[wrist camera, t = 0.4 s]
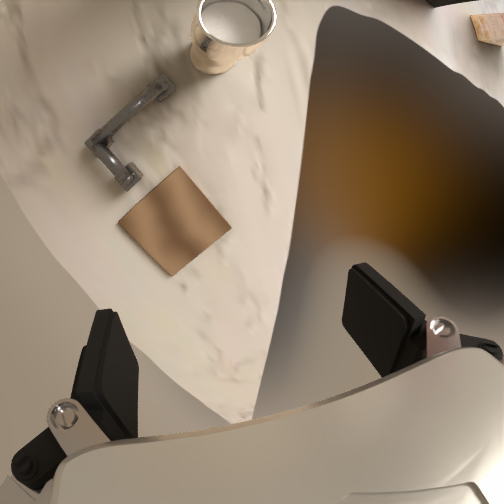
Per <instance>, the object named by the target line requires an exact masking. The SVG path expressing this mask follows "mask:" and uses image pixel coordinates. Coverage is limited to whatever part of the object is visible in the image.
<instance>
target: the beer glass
mask: <svg viewBox="0 0 504 504" xmlns="http://www.w3.org/2000/svg"><path fill="white" fill-rule="evenodd" d="M275 24H276V11H275V8H274V6H273V4H272V2H271V1H270V0H200V2H199V4H198V7H197V9H196V11H195V14H194V16H193V19H192V23H191V40H192V44H193V45H192V47H191V49H190V58H191V61H192V63H193V65H194V66H195V67H196V68H197V69H198V70H200V71H201V72H204V73H207V74H220V73H223V72H225V71H227V70H229V69H230V68H231V67H232V66H233V65H234V63H235V62H236V61H239V60H241V59H243V58H245V57H247V56H249V55H250V54H251V53H253V52H254V51H255V50H256V49H257V48H258V47H259V46H260V45H261V44H262V43H263V42H264V41H265V39H266V38H267V37H268V36H269V35H270V34H271V32H272V31H273V29H274V27H275Z"/></svg>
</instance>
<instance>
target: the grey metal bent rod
mask: <svg viewBox="0 0 504 504" xmlns="http://www.w3.org/2000/svg"><path fill="white" fill-rule="evenodd" d="M175 90H176V87H175V86H174V85H173V84H172V83H171V82H170V80H169V79H168V78H167V77H166V76H165V74H164V73H163V74H162V75H161V76H159V77H158V78H157V79H155V80H154V81H153V82H152V83H150V84H149V85H148V88H147V89H146V90H145V91H143V92H142V93H141V94H140V95H138V96H137V97H136V98H135V99H134V100H132V101H131V102H130V103H129V104H128V105H127V106H126V107H124V108H123V109H122V110H121V111H120V112H119V113H118V114H117V115H115V116H114V117H113V118H112V119H111V120H110V121H109V122H108V123H107V124H106V125H105V126H104V127H103V128H102V129H98V130H97V131H96V132H95V133H94V134H93V135H92V136H91V137H90V138H89V139H88V140H87V141H86V142H85V144H86V145H87V147H88V148H89V149H90V150H91V151H92V152H93V154H94V155H95V156H96V157H97V156H98V157H99V159H100V160H101V161H102V162H103V163H104V164H105V166H106V167H107V168H108V169H109V170H110V171H111V172H112V174H113V175H114V176H115V179H116V180H117V181H118V182H119V183H120V184H121V186H122V187H123V188H124V189H125V190H126V191H128V190H129V189H130V188H131V187H133V186H134V185H135V184H136V183H137V182H138V181H139V180H140V179H141V178H142V176H143V174H142V173H141V171H140V170H139V169H138V168H137V167H136V166H135V165H134V163H133V162H131V163H129V164H128V165H127V166H126V167H124V165H123V164H122V163H121V162H120V161H119V160H118V158H117V157H116V156H115V155H114V154H113V153H112V152H111V150H110V149H109V147H110V146H111V145H112V144H113V143H114V142H115V141H114V140H113V139H112V138H111V136H112V135H114V134H115V133H116V132H117V131H118V130H119V129H120V128H121V127H122V126H123V125H124V124H125V123H127V122H128V121H129V120H130V119H131V118H132V117H133V116H135V115H136V114H137V113H138V112H139V111H140V110H142V109H143V108H144V107H145V106H146V105H148V104H149V103H150V102H151V101H152V100H154V99H155V98H156V97H157V99H158V100H159V101H160V102H161V101H162V100H164V99H165V98H166V97H167V96H169V95H170V94H171V93H173V92H174V91H175Z"/></svg>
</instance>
